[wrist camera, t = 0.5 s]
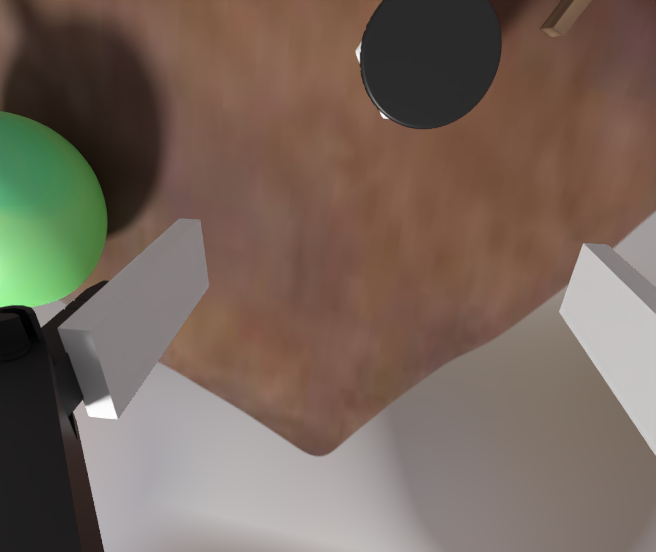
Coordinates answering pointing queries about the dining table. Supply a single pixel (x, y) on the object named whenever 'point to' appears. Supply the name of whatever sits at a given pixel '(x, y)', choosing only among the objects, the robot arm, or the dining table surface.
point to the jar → (429, 59)
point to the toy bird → (45, 214)
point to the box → (564, 17)
